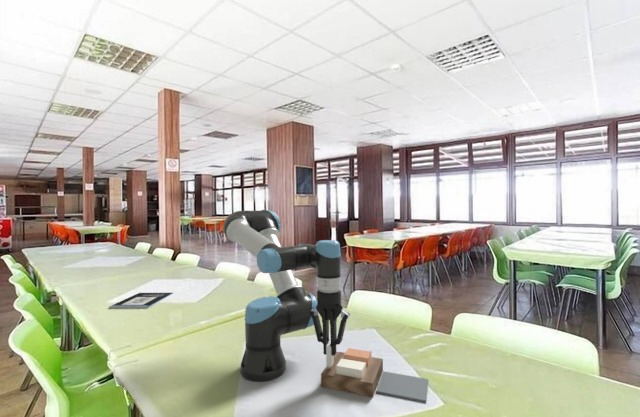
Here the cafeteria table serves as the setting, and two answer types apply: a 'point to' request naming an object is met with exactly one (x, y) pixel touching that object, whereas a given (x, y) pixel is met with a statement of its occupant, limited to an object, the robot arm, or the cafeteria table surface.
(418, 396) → the mat
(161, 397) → the cafeteria table surface
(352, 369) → the cream tile
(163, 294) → the picture frame
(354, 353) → the terracotta tile
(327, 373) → the deck
